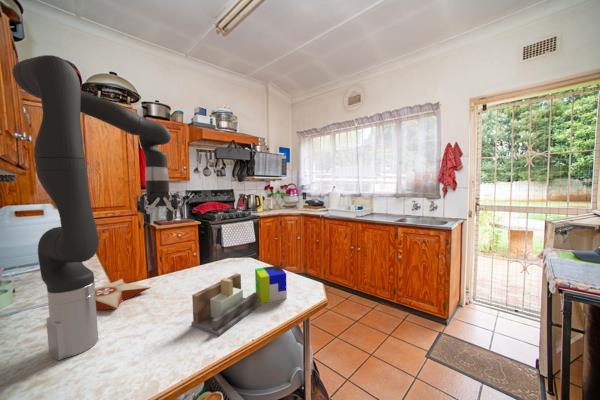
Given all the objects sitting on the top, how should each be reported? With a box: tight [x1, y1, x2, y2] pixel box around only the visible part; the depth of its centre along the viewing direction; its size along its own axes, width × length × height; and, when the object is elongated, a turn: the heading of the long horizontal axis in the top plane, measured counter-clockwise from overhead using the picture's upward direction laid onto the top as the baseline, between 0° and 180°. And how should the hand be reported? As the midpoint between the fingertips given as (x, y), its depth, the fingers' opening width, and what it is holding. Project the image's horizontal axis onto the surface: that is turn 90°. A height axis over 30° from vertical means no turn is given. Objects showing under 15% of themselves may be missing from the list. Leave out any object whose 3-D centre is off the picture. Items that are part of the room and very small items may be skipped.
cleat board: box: [191, 273, 262, 337], centre depth 81 cm, size 20×12×10 cm, turn 153°
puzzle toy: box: [254, 264, 288, 304], centre depth 95 cm, size 10×10×10 cm
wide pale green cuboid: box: [210, 277, 244, 318], centre depth 81 cm, size 10×5×11 cm, turn 153°
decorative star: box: [95, 278, 152, 311], centre depth 92 cm, size 28×4×30 cm
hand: (159, 222), depth 91 cm, fingers open, 8 cm apart
